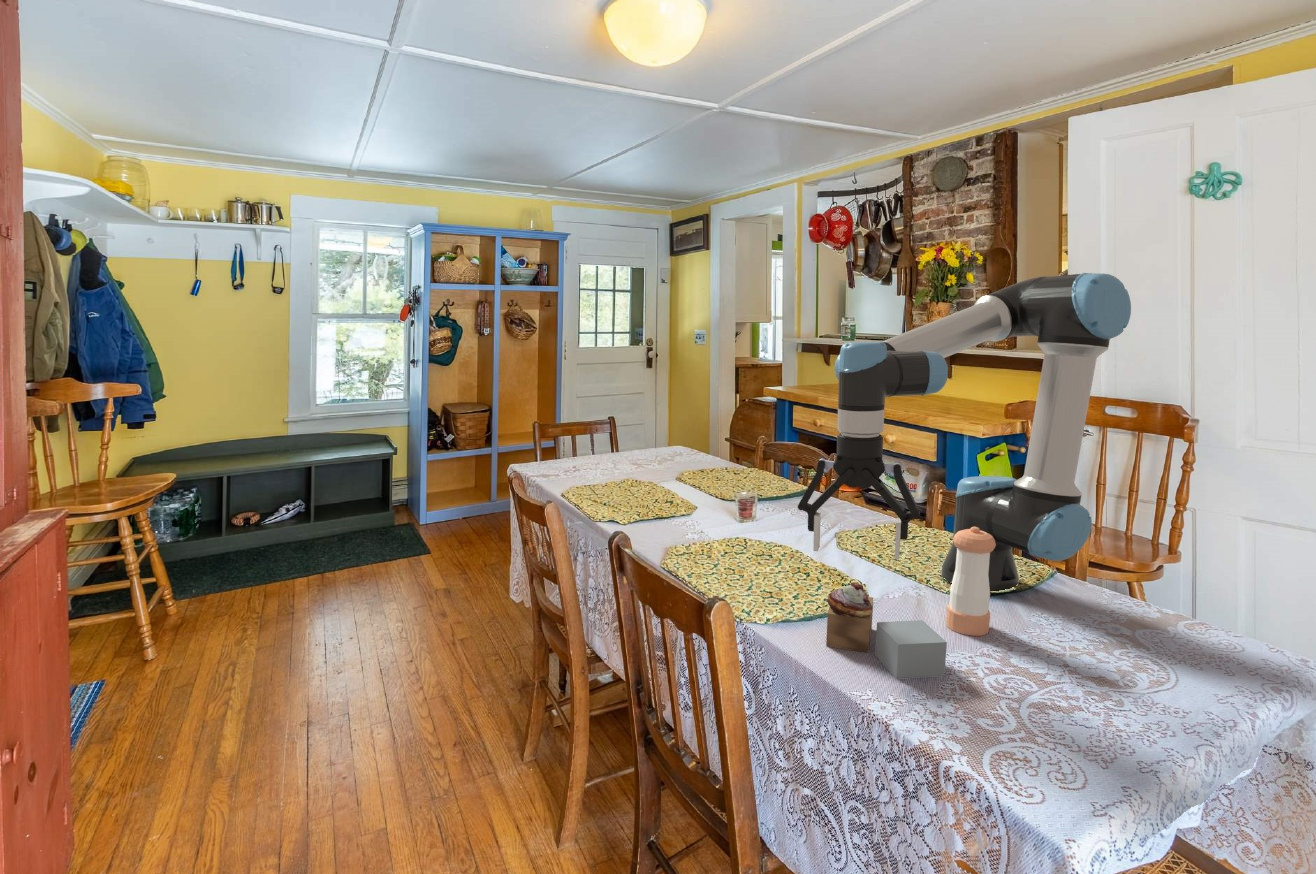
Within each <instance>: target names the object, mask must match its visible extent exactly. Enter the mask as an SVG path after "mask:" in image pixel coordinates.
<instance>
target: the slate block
mask: <svg viewBox="0 0 1316 874" xmlns="http://www.w3.org/2000/svg"><path fill="white" fill-rule="evenodd" d="M875 633H876V634H875V647H874V649H875V650H874V651H875V652H874V655H875V657H877V659H878V660H879V661H880V662H881V664H882V665H883V666H884V667H885V668H886V669H887V671H888V672H889V673H890V674H891V675H892V676H893V677H894V678H895V680H904V679H923V678H942V677H945V670H946V658H947V647H948V646H947V644H948V641H946V640H945V639H944V638H943V637H942V636H941V635H939V633H937V632H936V631H935V629H933V628H932V627H930V626H929V625H928V624H927V623H926V622H925V621H924V620H923V619H922V620H899V621H878V622H876V632H875Z"/></svg>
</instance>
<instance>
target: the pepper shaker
mask: <svg viewBox="0 0 1316 874" xmlns="http://www.w3.org/2000/svg"><path fill="white" fill-rule="evenodd" d="M953 542H954V545H955V547H957V556H956V568H955V572H954V576H953V580H952V584H950V591H949V593H950V594H949V603H948V604H947V606H946V617H945V618H946V619H945V625H946V626H947V628H948V629H950V630H952V631H953V632H956V633H958V634H961V635H966V636H972V637H973V636H975V637H976V636H984V635H986V634H988V633H989V632H990V621H991V612H990V610H989V609H990V608H989V606H990V599H991V593H990V588H989V577H988V572H989V559H990V552H992V551H993V550H994V548H995V546H996V544H995V540H994V538H993V536H992V535H990V534H988V533H986V532H984V531H981V530H980V529H979V528H978V527H971V529H965V530H961V531H958V532H957V533H956V534H955V535H954V538H953V537H952V543H953Z"/></svg>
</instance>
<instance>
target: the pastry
mask: <svg viewBox="0 0 1316 874" xmlns="http://www.w3.org/2000/svg"><path fill="white" fill-rule="evenodd" d="M869 597H870V595H869V594H867V591H866V590H865V588H864V586H863V584H861V583H859V582H856V581H855V582H853V581H852V582H850V584H848V585H846V586H844V587H843V588H838V589H834V590H833V591H832V592H830V593H828V596H827V598H826V599H827V600H826V601H827V604H828V606H829V607H831V609H833V610H834V611H836V612H837V613H839V614H840V615H842V616H848V617H856V618H862V617H868V616H869V615H871V614H872V610H874V607H873V608H872V605H871V603H870V601H869ZM872 615H873V614H872Z"/></svg>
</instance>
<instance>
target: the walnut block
mask: <svg viewBox="0 0 1316 874" xmlns="http://www.w3.org/2000/svg"><path fill="white" fill-rule="evenodd" d="M869 601H870V603H871V605H872V608H873V610H874V597H872V596H869ZM873 610H872V614H871V615H869V616H868V617H862V618H856V617H848V616H842V615H840V614H839V613H837V612H836V611H834V610H833V609H831V607H830V606H829V607H828V611H827V622H826V641H825V644H826V645H825V646H826V647H830V648H831V647H832V648H835V649H836V648H837V649H844V650H848V651H855V652H856V651H857V652H862V653H867V654H868V653H869V649H870V643H871V642H870V641H871V635H872V629H873V626H872V625H873V612H874V611H873Z"/></svg>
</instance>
